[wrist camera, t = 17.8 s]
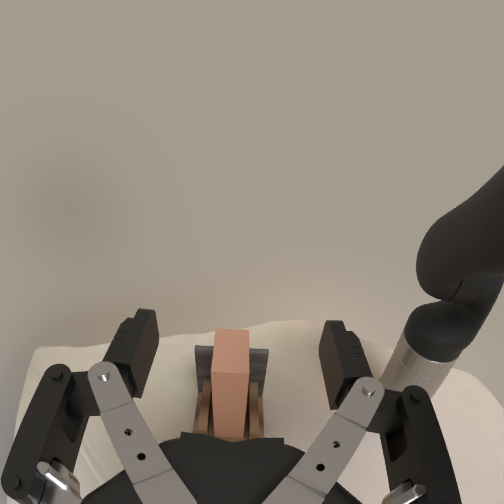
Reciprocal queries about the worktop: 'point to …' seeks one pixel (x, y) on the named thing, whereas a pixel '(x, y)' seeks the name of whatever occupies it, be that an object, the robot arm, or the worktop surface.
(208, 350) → the rack
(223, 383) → the salmon pink rectangular block
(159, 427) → the worktop surface
